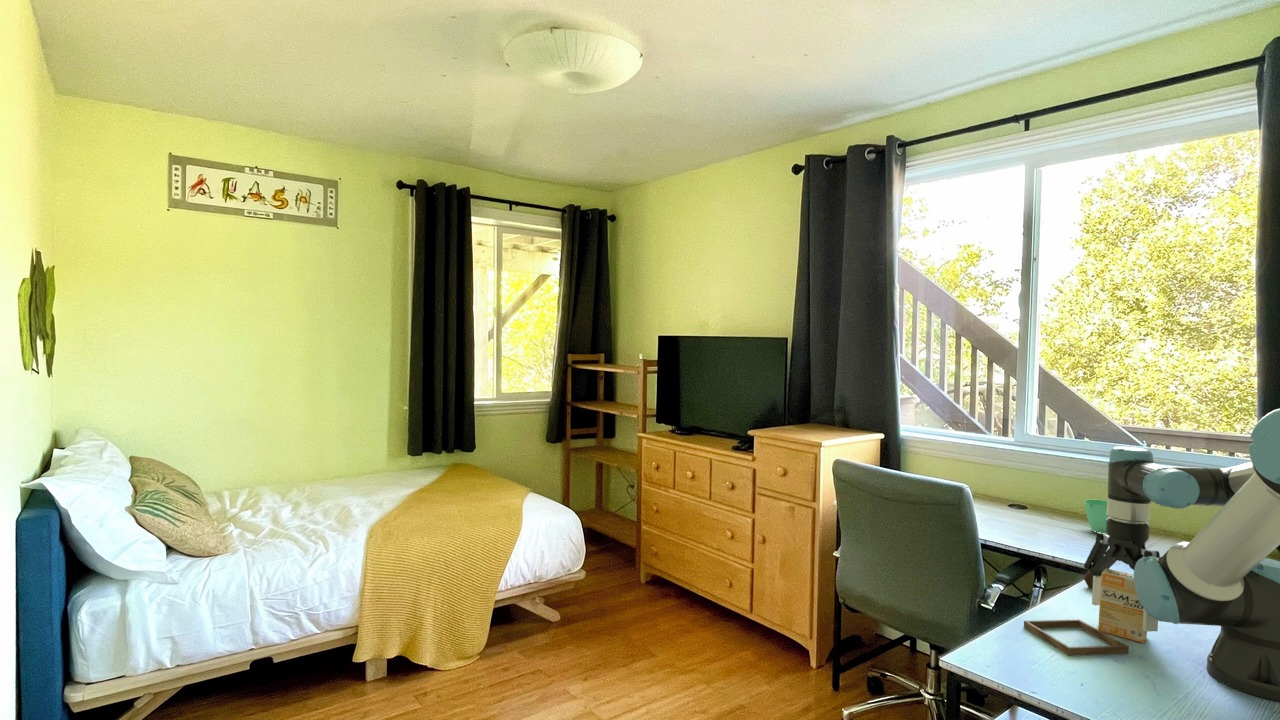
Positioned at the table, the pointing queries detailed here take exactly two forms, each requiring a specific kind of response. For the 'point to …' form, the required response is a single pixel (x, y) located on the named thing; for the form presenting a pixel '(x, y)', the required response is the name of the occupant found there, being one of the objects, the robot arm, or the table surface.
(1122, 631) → the supplement box
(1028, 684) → the table surface
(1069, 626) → the frame
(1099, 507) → the mug
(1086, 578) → the bolt
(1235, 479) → the robot arm
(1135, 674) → the table surface
